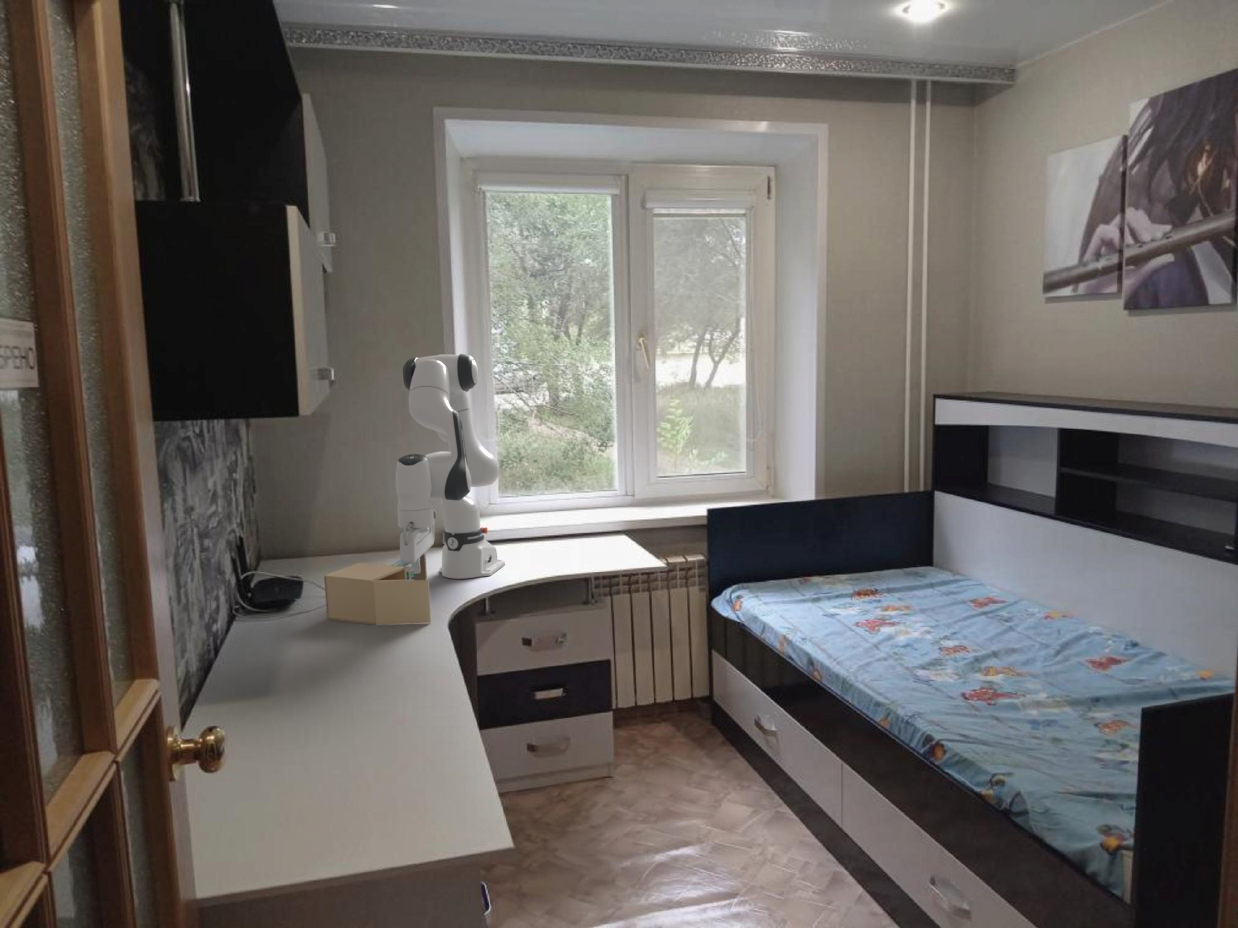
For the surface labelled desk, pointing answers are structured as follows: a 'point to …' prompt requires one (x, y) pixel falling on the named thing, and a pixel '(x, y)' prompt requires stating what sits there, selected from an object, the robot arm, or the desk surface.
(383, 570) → the carton
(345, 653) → the desk surface
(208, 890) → the desk surface
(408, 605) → the side flap
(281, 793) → the desk surface
